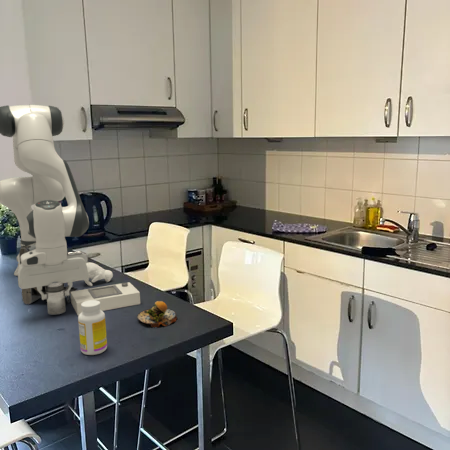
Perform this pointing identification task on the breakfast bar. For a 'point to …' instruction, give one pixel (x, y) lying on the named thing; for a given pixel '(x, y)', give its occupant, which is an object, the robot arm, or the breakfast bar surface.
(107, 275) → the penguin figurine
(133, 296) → the camera body
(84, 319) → the supplement bottle
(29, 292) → the vintage camera
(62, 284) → the lens
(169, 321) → the burger
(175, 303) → the breakfast bar surface
